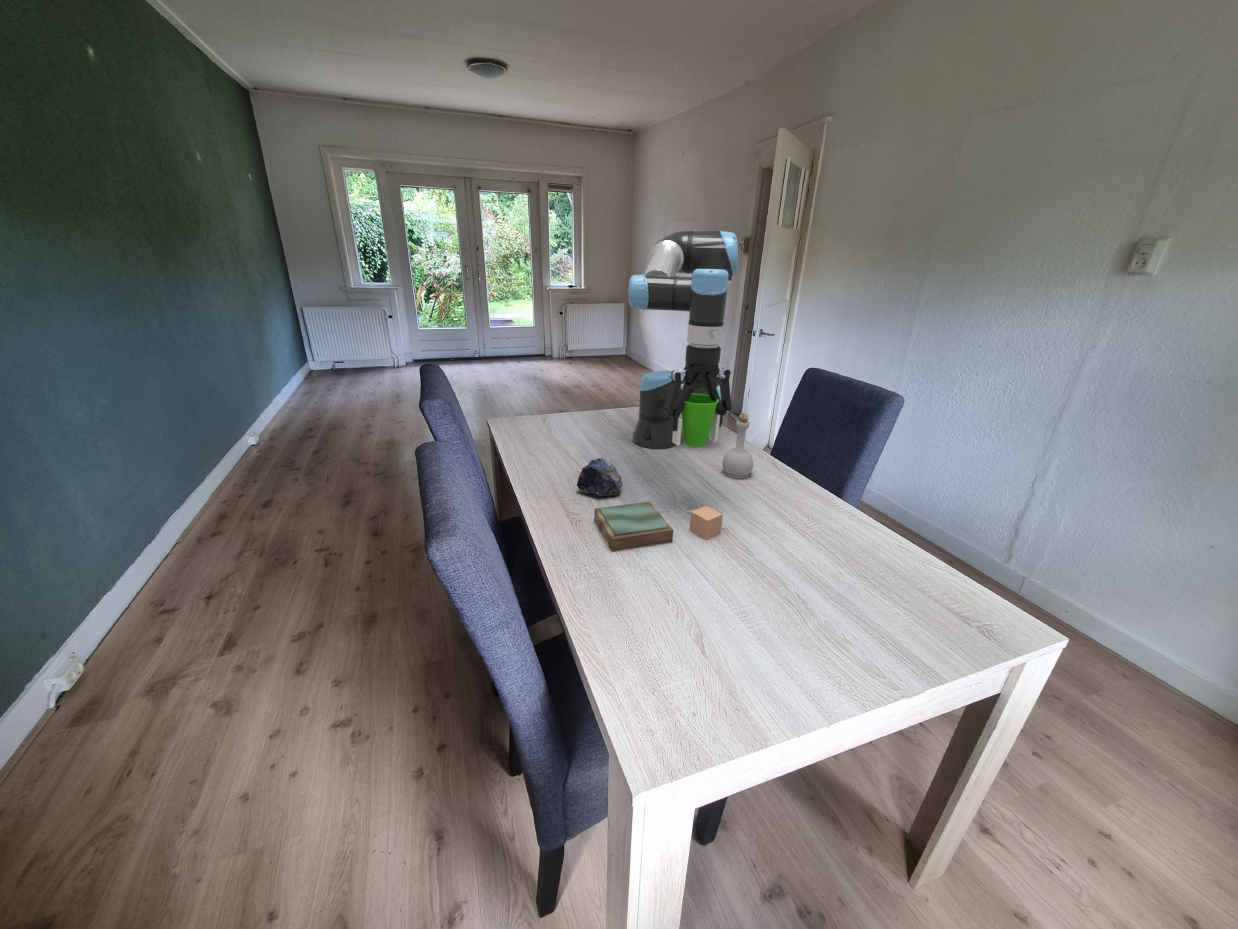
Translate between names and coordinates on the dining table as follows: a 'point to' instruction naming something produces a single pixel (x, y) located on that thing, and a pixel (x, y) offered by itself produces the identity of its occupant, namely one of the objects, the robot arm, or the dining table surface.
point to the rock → (600, 478)
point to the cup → (697, 419)
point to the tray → (632, 526)
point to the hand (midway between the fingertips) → (694, 441)
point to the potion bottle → (739, 453)
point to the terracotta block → (706, 522)
